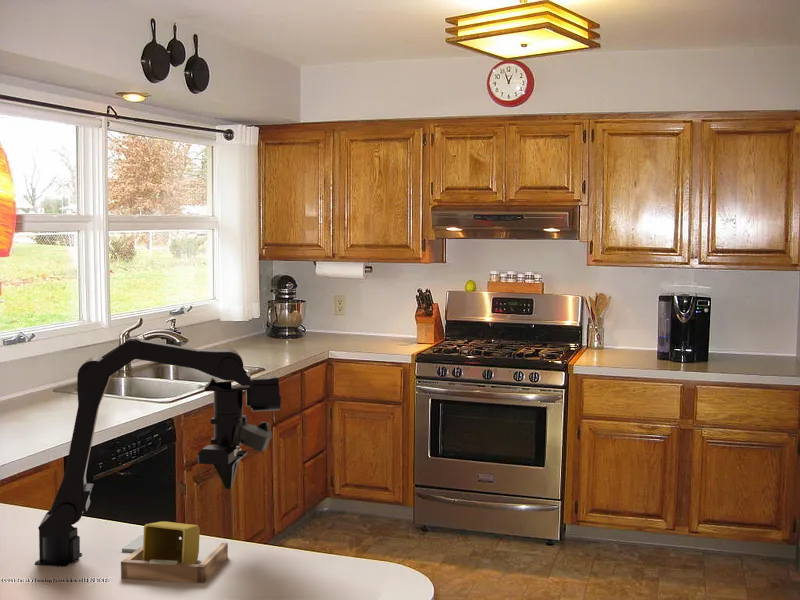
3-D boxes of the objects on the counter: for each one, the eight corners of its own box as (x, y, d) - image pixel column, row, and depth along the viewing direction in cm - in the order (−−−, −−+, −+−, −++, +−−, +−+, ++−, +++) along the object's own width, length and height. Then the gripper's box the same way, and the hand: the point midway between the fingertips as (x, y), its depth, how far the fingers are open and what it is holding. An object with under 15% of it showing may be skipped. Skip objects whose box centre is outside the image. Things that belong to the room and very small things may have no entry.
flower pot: (207, 564, 164) (182, 577, 155) (167, 559, 166) (141, 571, 158) (209, 519, 164) (184, 528, 156) (170, 514, 167) (143, 523, 158)
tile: (121, 551, 168) (121, 547, 168) (139, 538, 176) (139, 534, 176) (160, 553, 167) (160, 550, 167) (176, 540, 175) (176, 536, 175)
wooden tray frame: (151, 553, 167) (150, 536, 167) (227, 558, 165) (227, 541, 165) (121, 577, 155) (120, 559, 155) (203, 583, 153) (203, 565, 152)
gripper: (252, 423, 159) (252, 504, 160) (280, 405, 178) (280, 478, 179) (196, 420, 161) (196, 501, 162) (229, 403, 179) (229, 475, 180)
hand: (228, 488), depth 171 cm, fingers closed
